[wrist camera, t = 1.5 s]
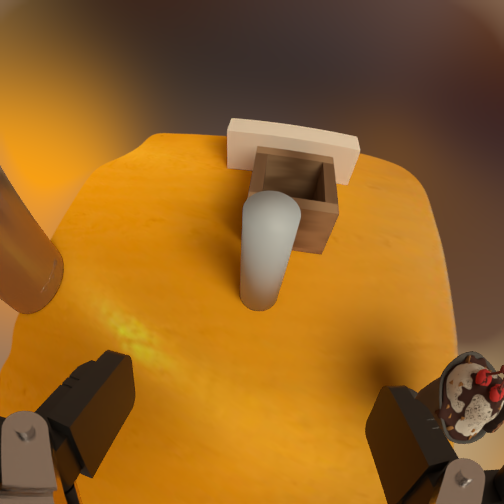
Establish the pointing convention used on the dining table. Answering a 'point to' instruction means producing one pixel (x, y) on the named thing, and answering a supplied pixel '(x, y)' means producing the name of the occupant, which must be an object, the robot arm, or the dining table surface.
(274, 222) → the gray cylinder
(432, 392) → the sundae
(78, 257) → the dining table surface
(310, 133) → the rail
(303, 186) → the open wooden box
